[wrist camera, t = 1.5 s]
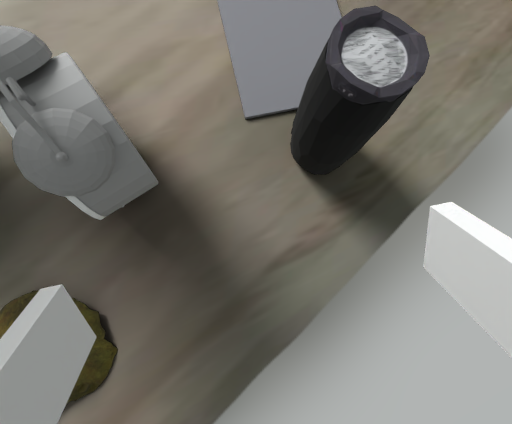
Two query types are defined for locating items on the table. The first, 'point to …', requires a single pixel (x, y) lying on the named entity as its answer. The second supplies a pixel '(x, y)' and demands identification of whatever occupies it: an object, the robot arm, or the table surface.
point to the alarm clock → (65, 129)
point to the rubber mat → (275, 48)
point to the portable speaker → (355, 87)
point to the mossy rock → (97, 358)
